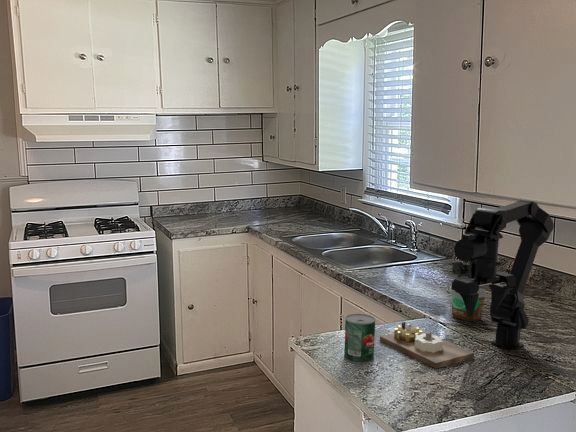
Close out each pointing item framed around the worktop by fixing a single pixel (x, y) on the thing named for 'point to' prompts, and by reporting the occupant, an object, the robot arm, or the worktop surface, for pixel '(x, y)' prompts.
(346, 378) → the worktop surface
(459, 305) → the food container
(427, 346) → the loose gear
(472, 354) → the gear board
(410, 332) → the gear
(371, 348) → the canned tomato
